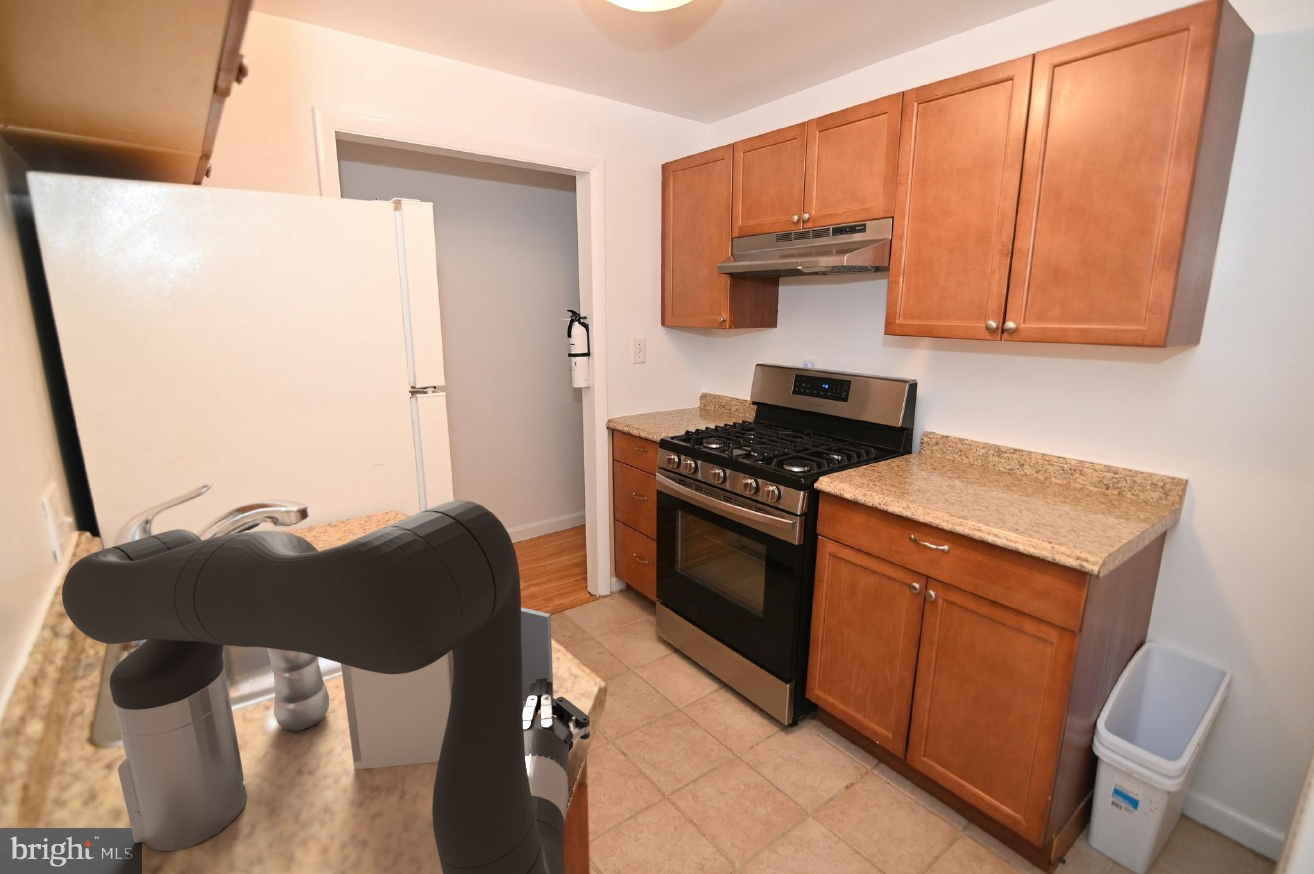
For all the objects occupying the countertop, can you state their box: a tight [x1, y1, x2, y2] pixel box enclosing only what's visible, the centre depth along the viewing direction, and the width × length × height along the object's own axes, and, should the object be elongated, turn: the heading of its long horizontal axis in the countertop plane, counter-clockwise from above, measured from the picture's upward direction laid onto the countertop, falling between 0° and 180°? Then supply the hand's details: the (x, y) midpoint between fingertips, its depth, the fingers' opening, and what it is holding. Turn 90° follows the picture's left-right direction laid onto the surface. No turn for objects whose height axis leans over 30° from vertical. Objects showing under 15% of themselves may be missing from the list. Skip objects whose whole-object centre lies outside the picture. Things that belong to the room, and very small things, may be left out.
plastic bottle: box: [266, 648, 330, 732], centre depth 80 cm, size 6×7×20 cm
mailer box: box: [340, 650, 453, 770], centre depth 79 cm, size 12×14×16 cm
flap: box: [521, 606, 555, 702], centre depth 84 cm, size 1×14×15 cm, turn 68°
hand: (541, 684), depth 78 cm, fingers closed
